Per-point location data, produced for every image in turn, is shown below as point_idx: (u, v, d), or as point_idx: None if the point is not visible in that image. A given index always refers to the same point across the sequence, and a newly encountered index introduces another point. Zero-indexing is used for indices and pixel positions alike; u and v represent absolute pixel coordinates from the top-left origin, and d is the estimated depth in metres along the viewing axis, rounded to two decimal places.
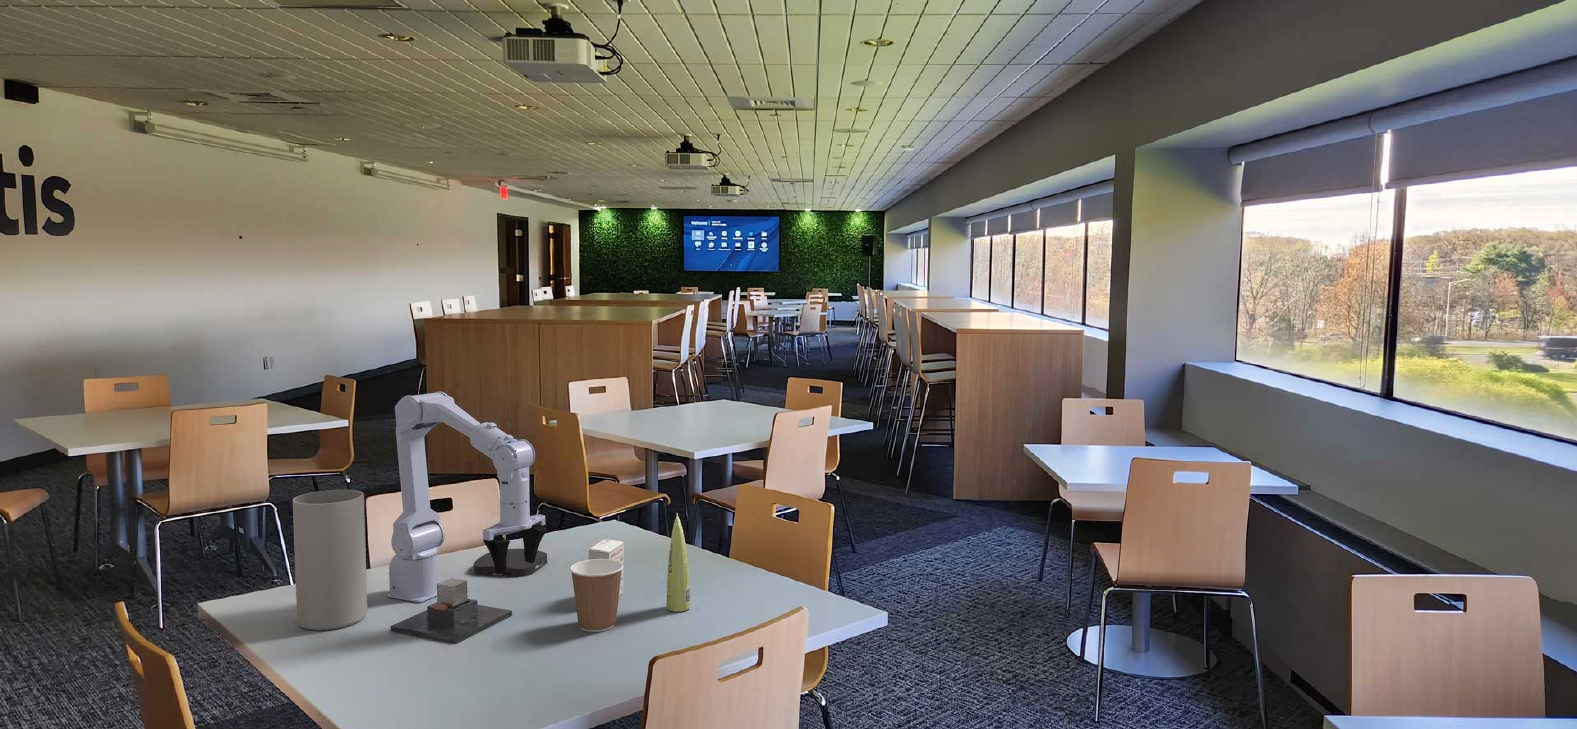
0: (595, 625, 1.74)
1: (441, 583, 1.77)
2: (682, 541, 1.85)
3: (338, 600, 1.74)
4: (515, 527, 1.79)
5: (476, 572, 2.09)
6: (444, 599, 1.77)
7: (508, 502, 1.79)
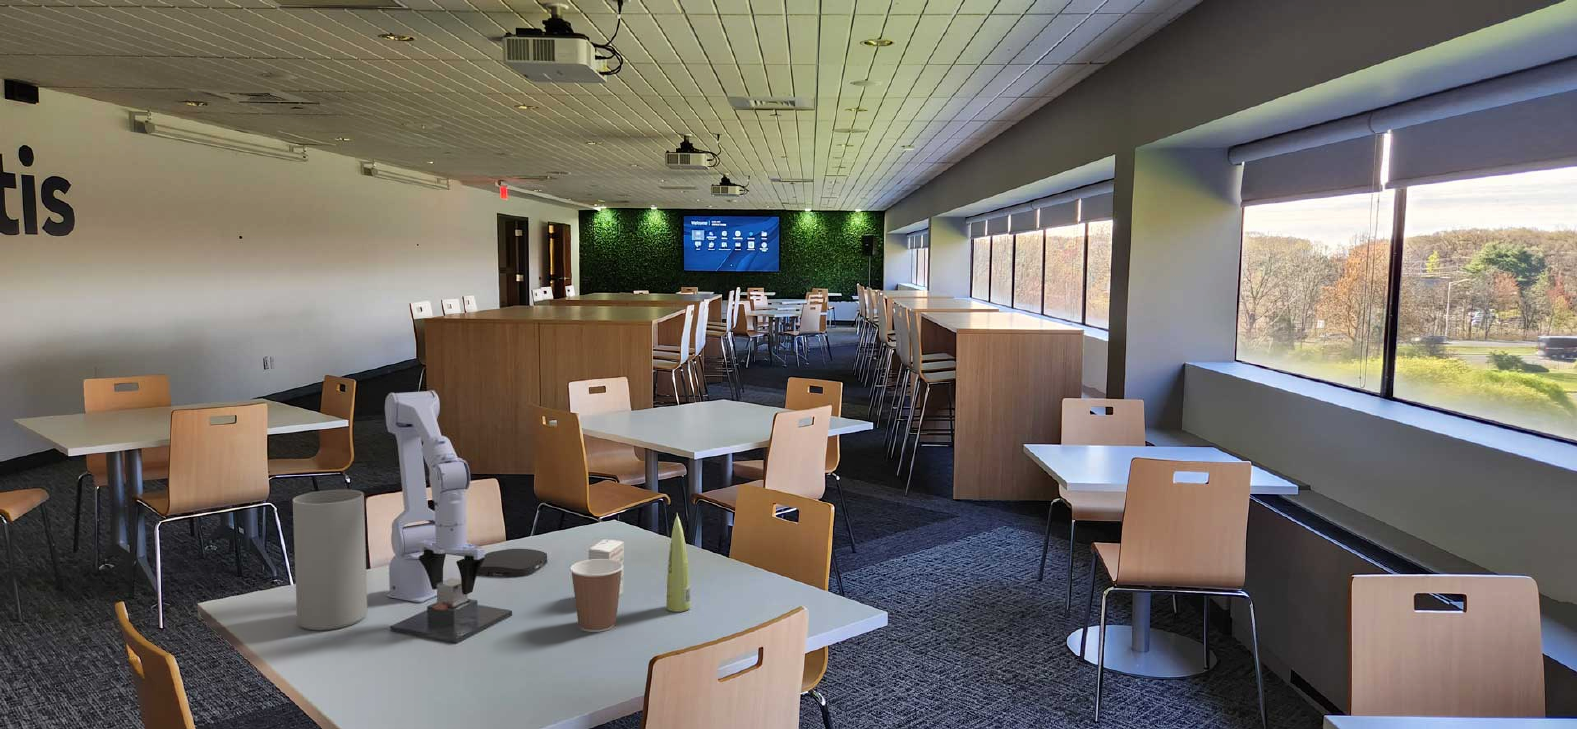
0: (595, 625, 1.74)
1: (441, 583, 1.77)
2: (682, 541, 1.85)
3: (338, 600, 1.74)
4: (433, 547, 1.76)
5: None
6: (444, 599, 1.77)
7: (438, 524, 1.75)
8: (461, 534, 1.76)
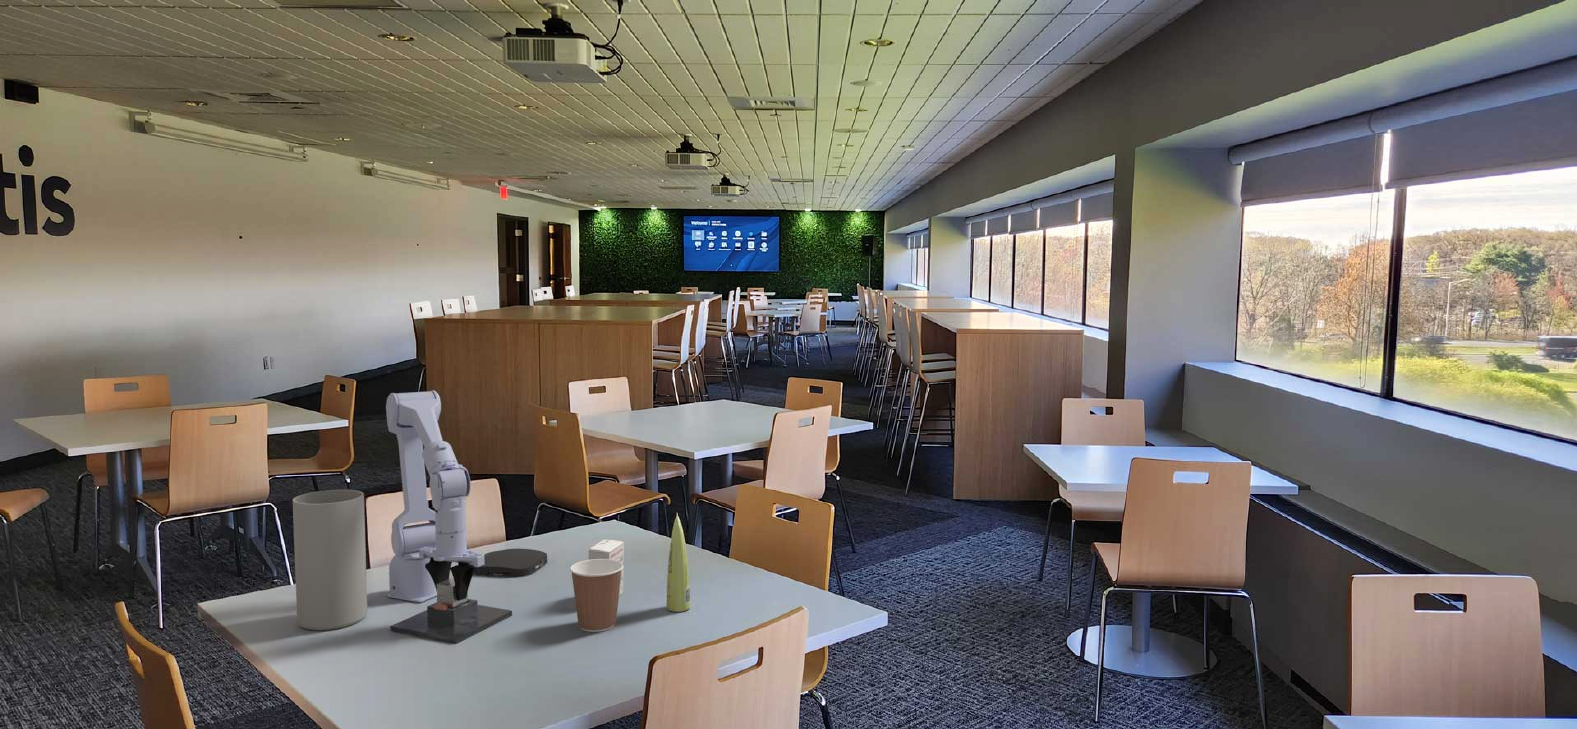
0: (595, 625, 1.74)
1: (441, 583, 1.77)
2: (682, 541, 1.85)
3: (338, 600, 1.74)
4: (434, 555, 1.76)
5: (476, 572, 2.09)
6: (444, 599, 1.77)
7: (438, 531, 1.75)
8: (461, 542, 1.76)
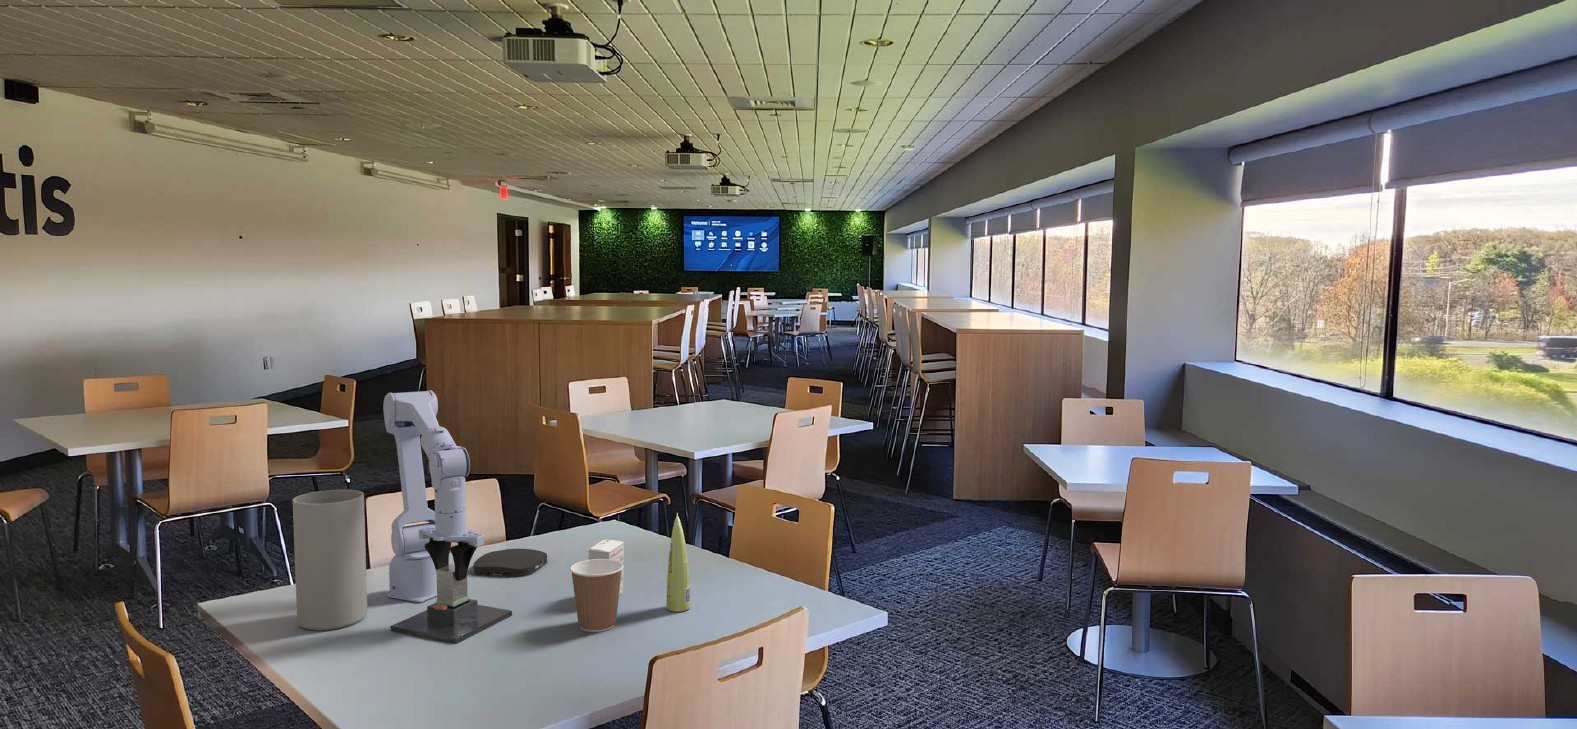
0: (595, 625, 1.74)
1: (441, 569, 1.77)
2: (682, 541, 1.85)
3: (338, 600, 1.74)
4: (433, 534, 1.76)
5: (476, 572, 2.09)
6: (443, 585, 1.76)
7: (437, 511, 1.75)
8: (461, 522, 1.76)
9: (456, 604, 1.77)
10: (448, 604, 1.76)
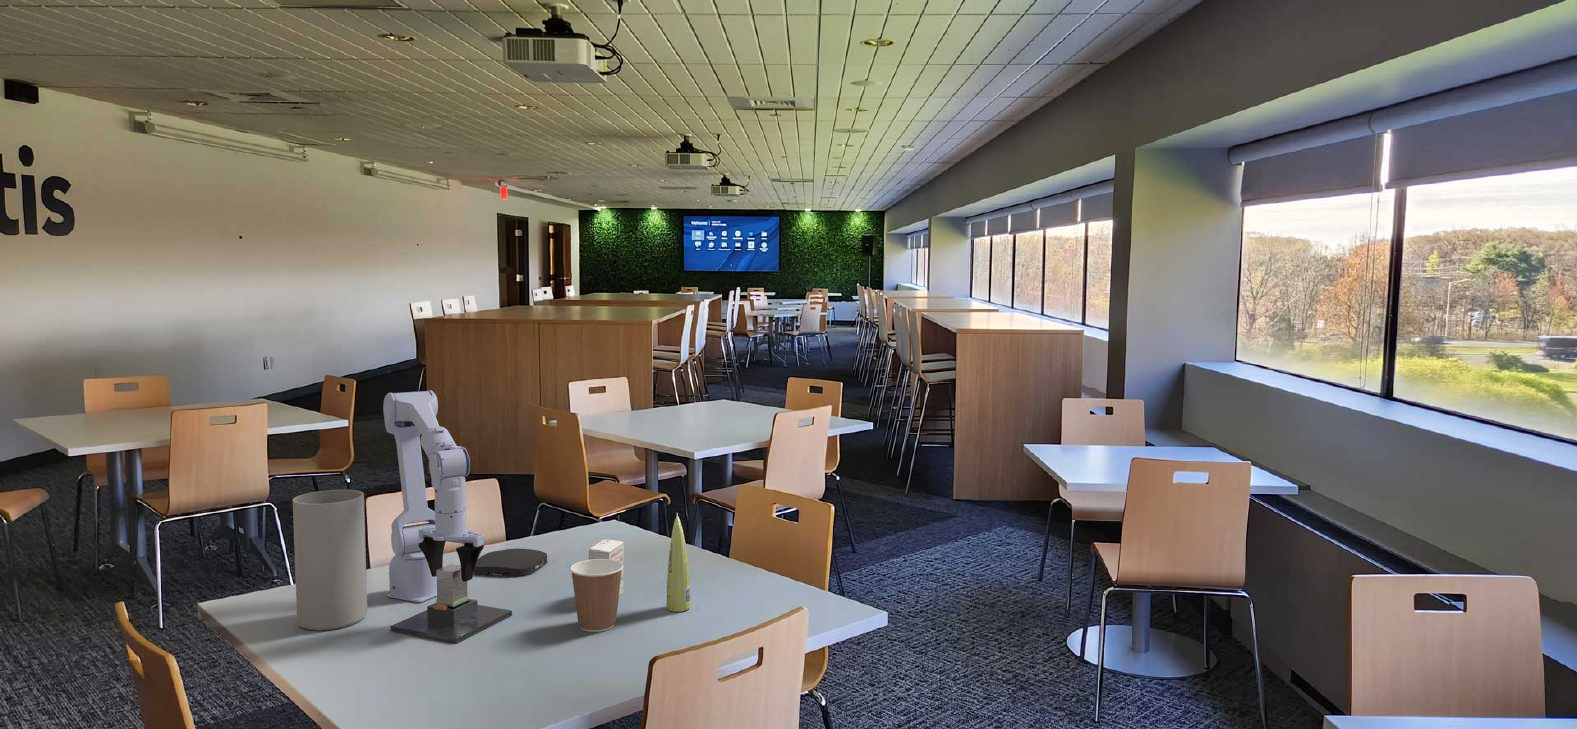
0: (595, 625, 1.74)
1: (441, 569, 1.77)
2: (682, 541, 1.85)
3: (338, 600, 1.74)
4: (433, 534, 1.76)
5: (476, 572, 2.09)
6: (443, 585, 1.76)
7: (437, 511, 1.75)
8: (461, 521, 1.76)
9: (456, 604, 1.77)
10: (448, 604, 1.76)
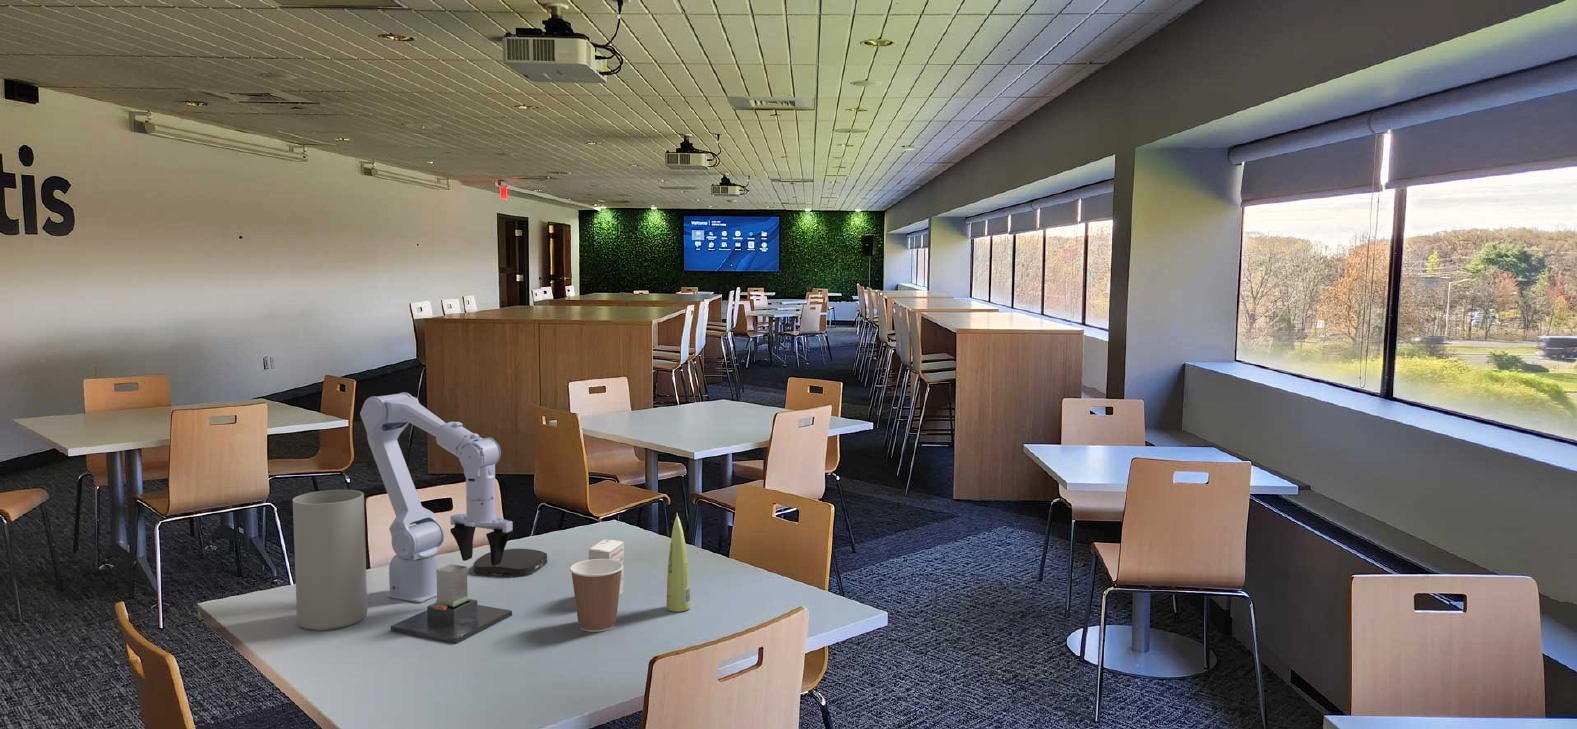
0: (595, 625, 1.74)
1: (441, 569, 1.77)
2: (682, 541, 1.85)
3: (338, 600, 1.74)
4: (464, 520, 1.86)
5: (476, 572, 2.09)
6: (443, 585, 1.76)
7: (475, 499, 1.84)
8: (491, 508, 1.86)
9: (456, 604, 1.77)
10: (448, 604, 1.76)
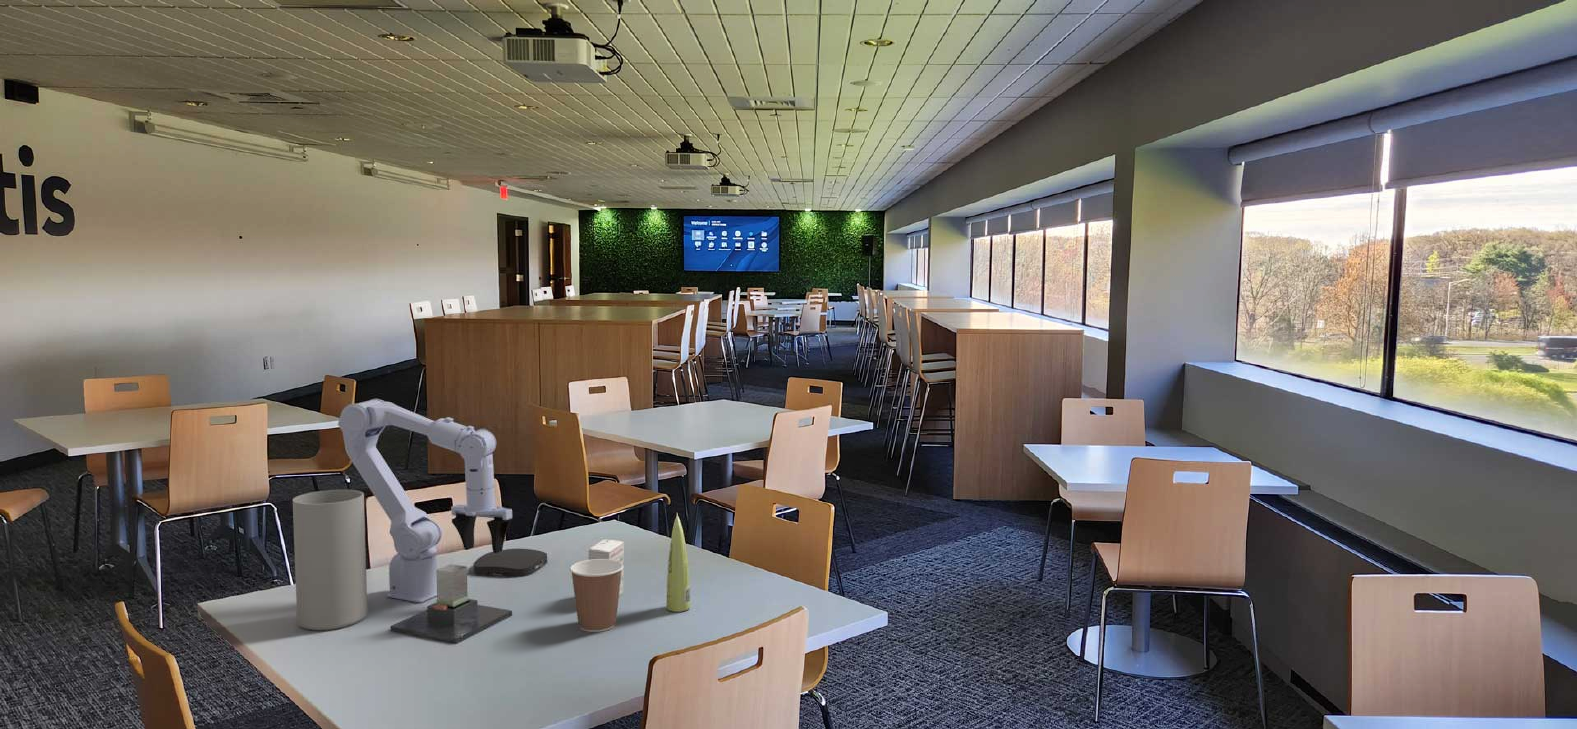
0: (595, 625, 1.74)
1: (441, 569, 1.77)
2: (682, 541, 1.85)
3: (338, 600, 1.74)
4: (465, 510, 1.90)
5: (476, 572, 2.09)
6: (443, 585, 1.76)
7: (478, 488, 1.89)
8: (490, 497, 1.91)
9: (456, 604, 1.77)
10: (448, 604, 1.76)
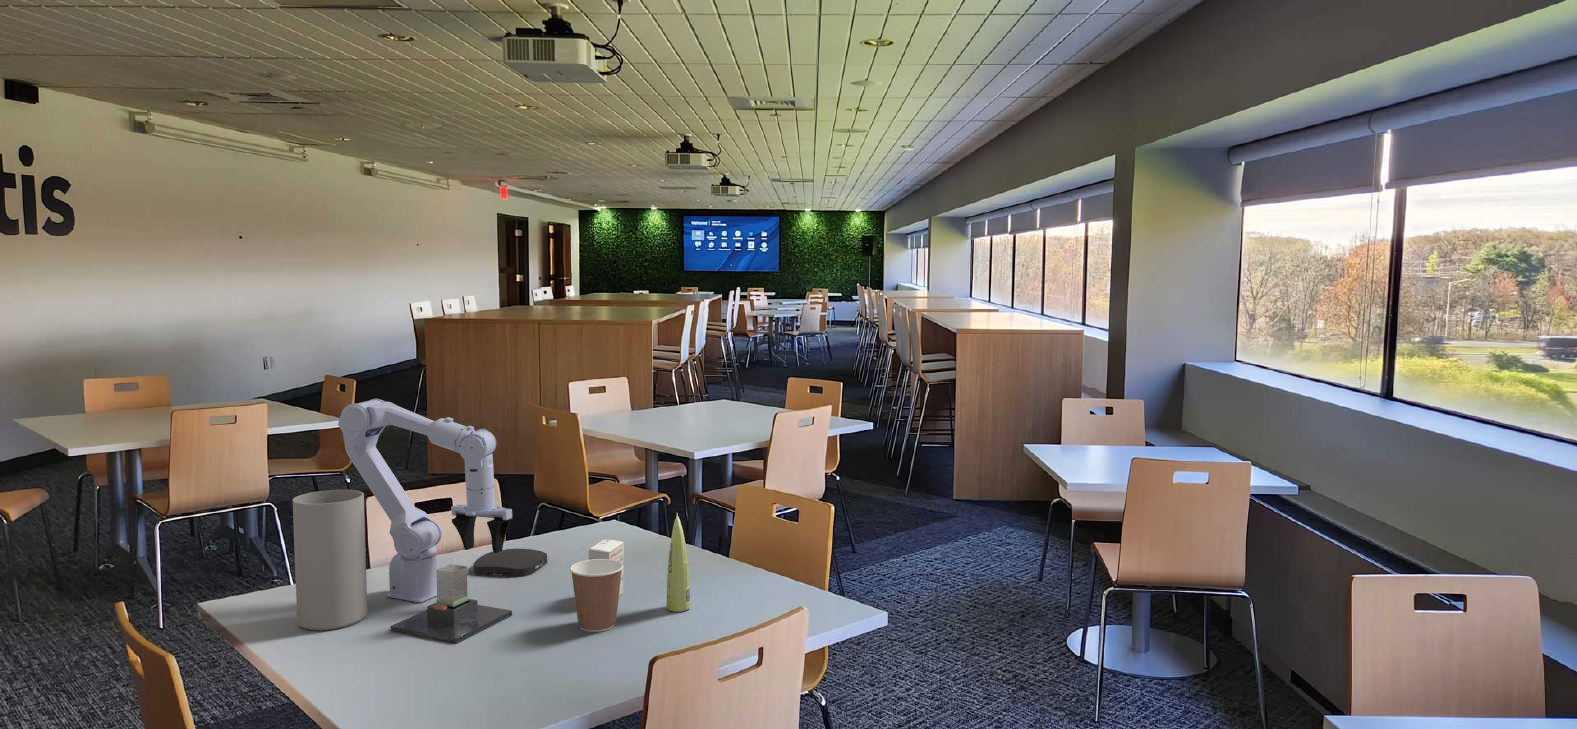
0: (595, 625, 1.74)
1: (441, 569, 1.77)
2: (682, 541, 1.85)
3: (338, 600, 1.74)
4: (465, 510, 1.90)
5: (476, 572, 2.09)
6: (443, 585, 1.76)
7: (478, 488, 1.89)
8: (490, 497, 1.91)
9: (456, 604, 1.77)
10: (448, 604, 1.76)
